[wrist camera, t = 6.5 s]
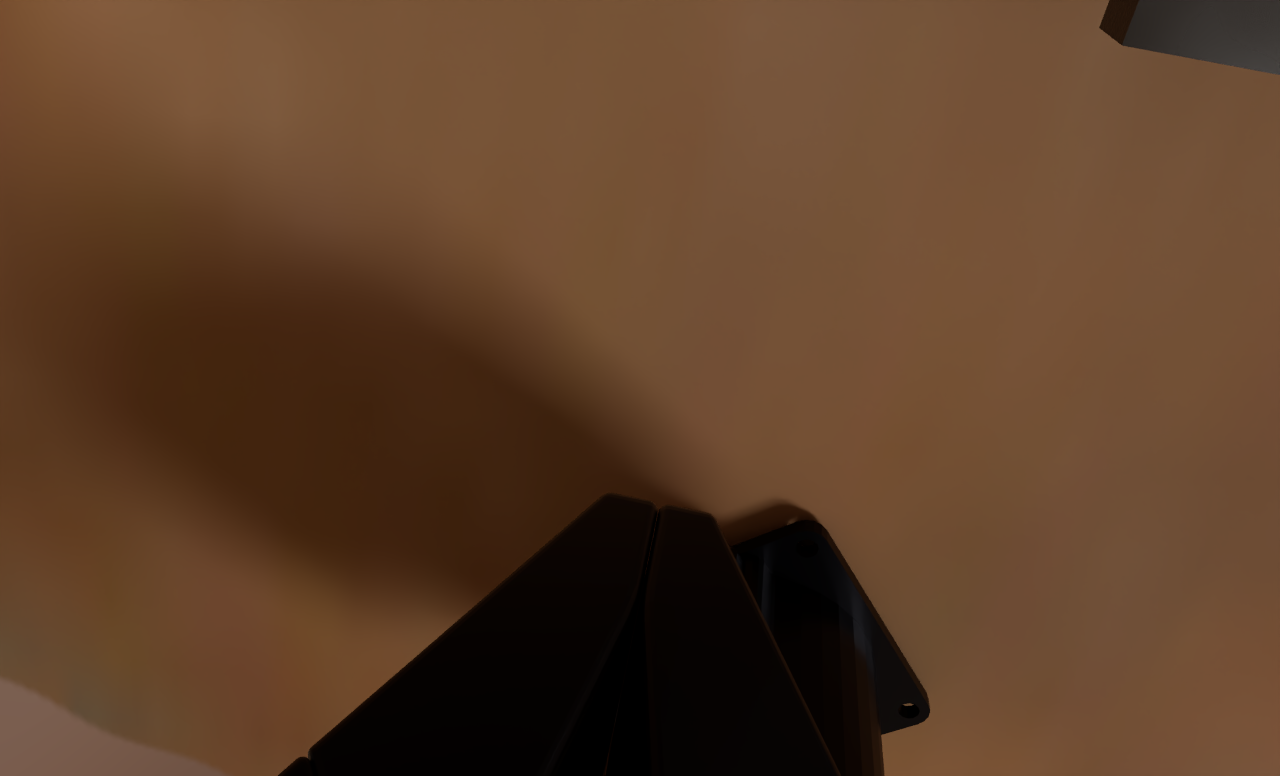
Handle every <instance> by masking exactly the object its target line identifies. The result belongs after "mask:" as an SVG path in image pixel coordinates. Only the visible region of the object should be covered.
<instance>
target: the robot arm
mask: <svg viewBox="0 0 1280 776" xmlns="http://www.w3.org/2000/svg"><path fill="white" fill-rule="evenodd" d="M657 513H658V516H657ZM656 518H657V521H656ZM655 523H656V526H655ZM654 528H655V531H654ZM653 533H654V536H653ZM652 537H653V541H652ZM807 539H808V540H811V541H814V542H815V543H816V544H814V545H813V546H808V547H806V546H802V545H800V544H799V542H800V541H801V540H807ZM651 542H652V546H651ZM650 547H651V551H650ZM649 552H650V556H649ZM648 557H649V560H648ZM647 562H648V565H647ZM646 567H647V570H646ZM645 572H646V575H645ZM907 703H911V704H914V705H912V706H904V705H903V704H907ZM929 713H930V706H929V699H928V696H927V693H926V691H925V689H924V688H923V686H922V684H921V683H920V681H919V680H918V678H917V676H916V675H915V673H914V671H913V670H912V668H911V666H910V665H909V663H908V662H907V660H906V658H905V657H904V655H903V653H902V652H901V650H900V649H899V647H898V645H897V644H896V642H895V640H894V639H893V637H892V635H891V634H890V632H889V631H888V629H887V627H886V626H885V624H884V622H883V621H882V619H881V618H880V616H879V614H878V613H877V611H876V609H875V608H874V606H873V604H872V603H871V601H870V600H869V598H868V596H867V595H866V593H865V591H864V590H863V588H862V587H861V585H860V583H859V582H858V580H857V578H856V577H855V575H854V573H853V572H852V570H851V569H850V567H849V565H848V564H847V562H846V560H845V559H844V557H843V556H842V554H841V552H840V551H839V549H838V547H837V546H836V544H835V542H834V541H833V539H832V538H831V536H830V534H829V533H828V531H827V530H826V529H825V528H824V527H823V526H822V525H821V524H819V523H817V522H815V521H810V520H803V521H798V522H795V523H792V524H790V525H787V526H784V527H782V528H779V529H776V530H774V531H771V532H769V533H766V534H763V535H761V536H758V537H755V538H753V539H750V540H748V541H745V542H742V543H740V544H737V545H734V546H732V547H729V545H728V543H727V541H726V539H725V537H724V535H723V533H722V531H721V529H720V527H719V525H718V523H717V521H716V519H715V518H714V517H713V516H712V515H711V514H709V513H706V512H701V511H696V510H691V509H687V508H682V507H677V506H672V505H665V506H663V507H662V508H661V509H660V510H659V512H658V509H657V506H656V505H655V504H654V503H653V502H651V501H648V500H644V499H639V498H634V497H629V496H625V495H620V494H615V493H607V494H604V495H603V496H601V497H600V498H599V499H598V500H597V501H595V502H594V503H593V504H592V505H591V506H590V507H589V508H587V509H586V510H585V511H584V512H583V513H582V514H580V515H579V516H578V517H577V518H576V519H575V520H573V521H572V522H571V523H570V524H569V525H568V526H567V527H565V528H564V529H563V530H562V531H561V532H560V533H558V534H557V535H556V536H555V537H554V538H553V539H552V540H550V541H549V542H548V543H547V544H546V545H545V546H543V547H542V548H541V549H540V550H539V551H538V552H536V553H535V554H534V555H533V556H532V557H531V558H530V559H528V560H527V561H526V562H525V563H524V564H523V565H521V566H520V567H519V568H518V569H517V570H516V571H515V572H513V573H512V574H511V575H510V576H509V577H508V578H506V579H505V580H504V581H503V582H502V583H501V584H499V585H498V586H497V587H496V588H495V589H494V590H493V591H491V592H490V593H489V594H488V595H487V596H486V597H484V598H483V599H482V600H481V601H480V602H479V603H478V604H476V605H475V606H474V607H473V608H472V609H471V610H469V611H468V612H467V613H466V614H465V615H464V616H462V617H461V618H460V619H459V620H458V621H457V622H456V623H454V624H453V625H452V626H451V627H450V628H449V629H447V630H446V631H445V632H444V633H443V634H442V635H441V636H439V637H438V638H437V639H436V640H435V641H434V642H432V643H431V644H430V645H429V646H428V647H427V648H425V649H424V650H423V651H422V652H421V653H420V654H419V655H417V656H416V657H415V658H414V659H413V660H412V661H410V662H409V663H408V664H407V665H406V666H405V667H404V668H402V669H401V670H400V671H399V672H398V673H397V674H395V675H394V676H393V677H392V678H391V679H390V680H388V681H387V682H386V683H385V684H384V685H383V686H382V687H380V688H379V689H378V690H377V691H376V692H375V693H373V694H372V695H371V696H370V697H369V698H368V699H366V700H365V701H364V702H363V703H362V704H361V705H360V706H358V707H357V708H356V709H355V710H354V711H353V712H351V713H350V714H349V715H348V716H347V717H346V718H345V719H343V720H342V721H341V722H340V723H339V724H338V725H336V726H335V727H334V728H333V729H332V730H331V731H329V732H328V733H327V734H326V735H325V736H324V737H323V738H321V739H320V740H319V741H318V742H317V743H316V744H314V745H313V746H312V747H311V748H310V749H309V751H308V758H307V757H299V758H297V759H296V760H295V761H294V762H293V763H291V764H290V765H289V766H288V767H287V768H286V769H285V770H283V771H282V772H281V773H280V774H279V775H278V776H884V764H883V752H882V740H881V735H882V734H886V733H889V732H893V731H896V730H900V729H903V728H906V727H910V726H913V725H917V724H919V723H921V722H923V721H925V720H926V719H927V718H928V717H929Z"/></svg>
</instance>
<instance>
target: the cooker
mask: <svg viewBox="0 0 1280 776" xmlns="http://www.w3.org/2000/svg"><path fill="white" fill-rule="evenodd" d="M1099 28H1100V29H1101V30H1103V31H1104V32H1105V33H1107V34H1108V35H1109V36H1111V37H1112V38H1113V39H1114V40H1116V41H1117V42H1118V43H1120V44H1121V45H1123V46H1128V47H1134V48H1139V49H1144V50H1150V51H1155V52H1160V53H1166V54H1171V55H1176V56H1182V57H1187V58H1192V59H1198V60H1203V61H1208V62H1214V63H1219V64H1224V65H1230V66H1235V67H1240V68H1246V69H1251V70H1256V71H1262V72H1267V73H1272V74H1278V75H1280V0H1109V3H1108V6H1107V9H1106V11H1105V14H1104V17H1103V19H1102V22H1101V25H1100V27H1099Z"/></svg>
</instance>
